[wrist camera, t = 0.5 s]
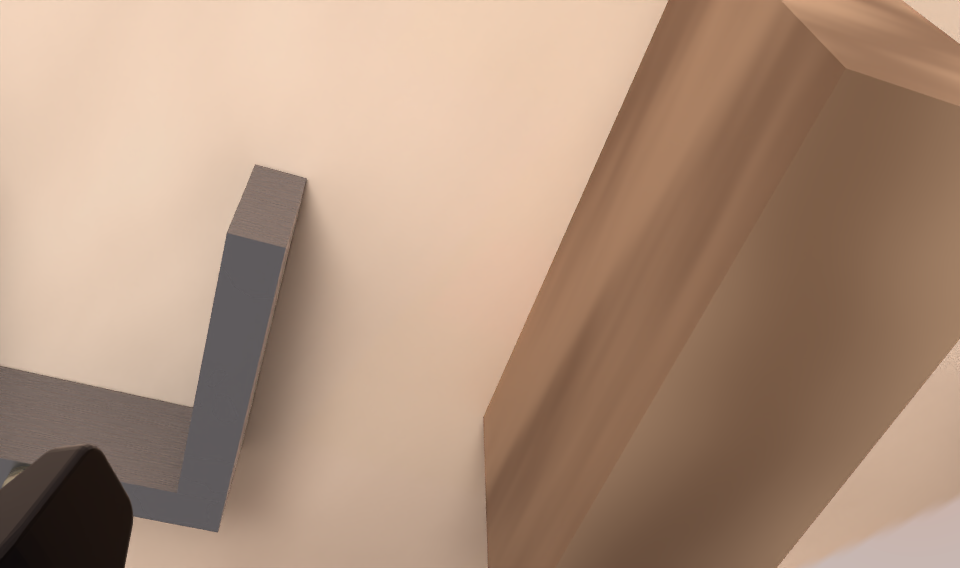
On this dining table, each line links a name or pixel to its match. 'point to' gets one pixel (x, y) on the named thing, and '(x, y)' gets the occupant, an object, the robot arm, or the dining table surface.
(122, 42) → the dining table surface
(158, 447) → the bracket
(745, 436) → the walnut top rail
